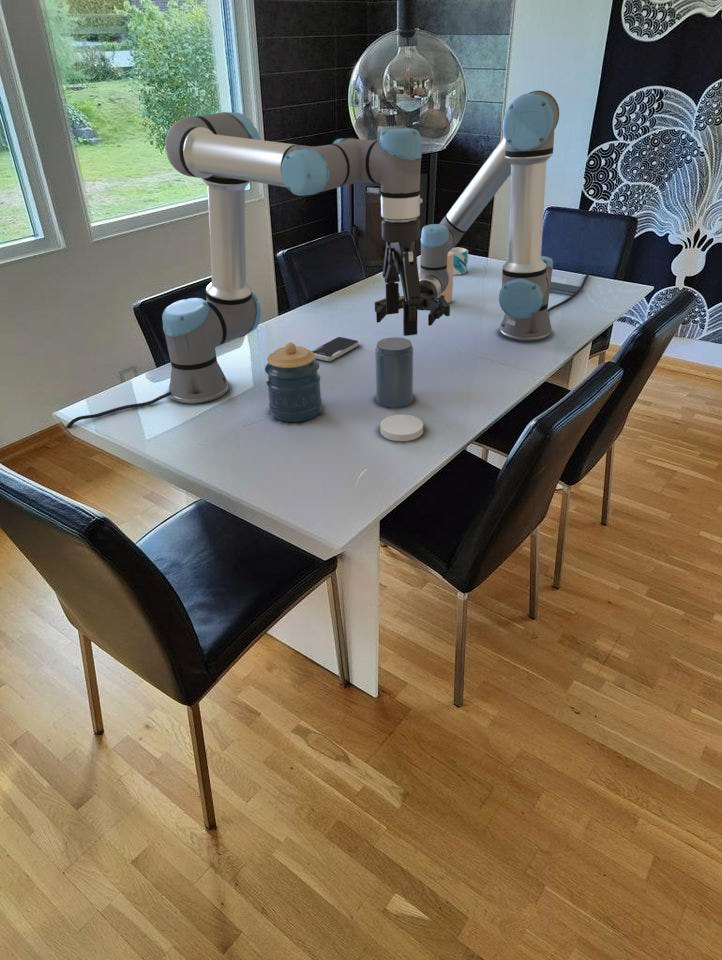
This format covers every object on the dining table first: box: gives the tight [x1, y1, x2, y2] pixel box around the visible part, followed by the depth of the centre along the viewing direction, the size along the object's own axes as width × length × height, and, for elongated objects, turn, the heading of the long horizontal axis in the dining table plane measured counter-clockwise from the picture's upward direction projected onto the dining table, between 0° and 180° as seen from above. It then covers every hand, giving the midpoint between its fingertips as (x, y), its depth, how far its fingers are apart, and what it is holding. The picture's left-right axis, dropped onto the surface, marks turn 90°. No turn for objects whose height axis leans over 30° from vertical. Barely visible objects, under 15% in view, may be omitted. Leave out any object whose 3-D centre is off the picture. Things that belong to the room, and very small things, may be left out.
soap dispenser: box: [418, 253, 454, 304], centre depth 227 cm, size 13×9×22 cm
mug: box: [448, 246, 469, 276], centre depth 261 cm, size 8×12×8 cm
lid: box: [379, 414, 424, 442], centre depth 155 cm, size 10×10×2 cm
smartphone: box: [311, 336, 359, 362], centre depth 198 cm, size 8×1×15 cm
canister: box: [264, 342, 323, 423], centre depth 161 cm, size 13×13×18 cm
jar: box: [375, 336, 414, 409], centre depth 166 cm, size 9×9×15 cm
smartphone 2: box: [550, 281, 582, 296], centre depth 238 cm, size 8×2×15 cm
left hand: (400, 323), depth 142 cm, fingers open, 13 cm apart
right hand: (403, 318), depth 169 cm, fingers open, 13 cm apart
